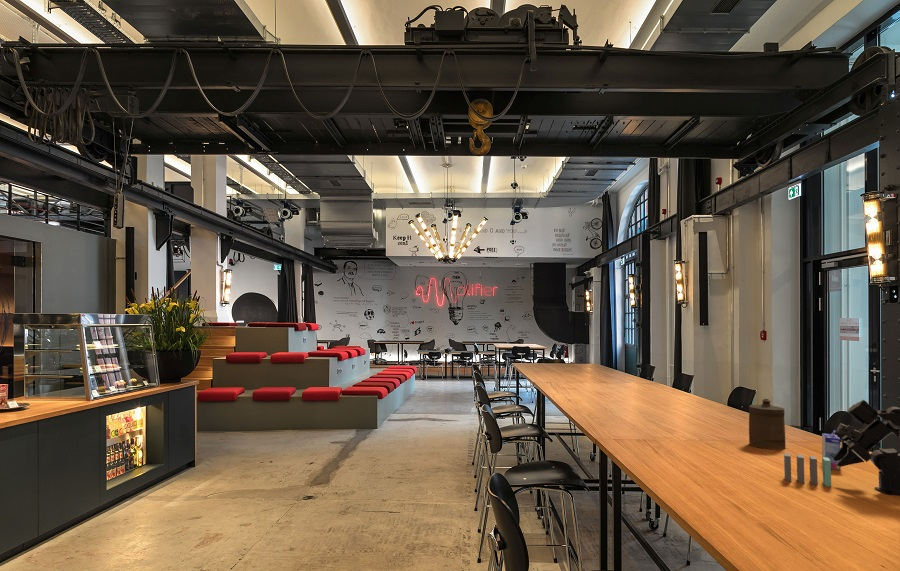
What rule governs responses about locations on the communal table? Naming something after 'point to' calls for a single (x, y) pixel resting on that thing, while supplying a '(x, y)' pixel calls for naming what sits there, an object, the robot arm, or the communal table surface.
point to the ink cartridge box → (831, 448)
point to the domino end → (787, 466)
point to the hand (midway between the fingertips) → (836, 462)
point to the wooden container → (767, 426)
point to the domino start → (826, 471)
